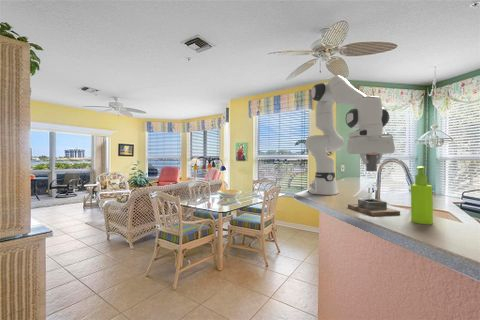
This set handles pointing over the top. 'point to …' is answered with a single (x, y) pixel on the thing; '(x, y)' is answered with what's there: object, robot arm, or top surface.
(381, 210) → the wooden socket board
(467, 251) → the top surface
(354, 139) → the robot arm
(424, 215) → the soap dispenser
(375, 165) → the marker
